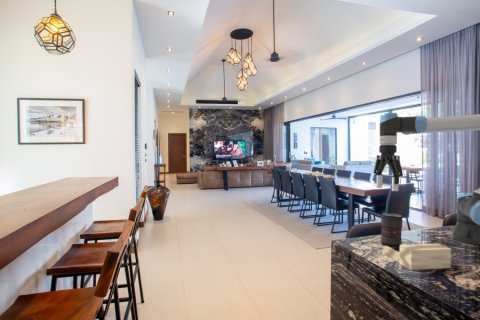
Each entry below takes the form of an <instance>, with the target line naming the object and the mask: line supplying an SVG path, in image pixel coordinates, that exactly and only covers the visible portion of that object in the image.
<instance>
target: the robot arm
mask: <svg viewBox="0 0 480 320" xmlns="http://www.w3.org/2000/svg"><path fill="white" fill-rule="evenodd" d="M469 131H480V113H479V114H465V115H453V116H452V115H451V116H440V117H437V116H436V117H426V116H425V115H424V116H423V115H422V116H421V115H417V116H416V115H415V116H398V113H397V112H384V113H381V115H380V116H379V147H378V150H379V154H378V155H376V160H375V164H374V168H373V174H374V175H376V176H375V177H376V189H382V188H383V171H384V169H385V168H386V166H387V165H388V166H389V168H390V171H391V173H392V178H391V181H392V183H391V191H392V192H399V186H400V177H403V175H404V174H403V168H402V164H401V161H400V160H401V156H400V155H396V153H397V148H398V147H397V144H398V133H401V134H402V135H406V136H407V135H412V134H418V135H419V134H430V133H431V134H433V133H449V132H453V133H454V132H469ZM456 200H457V204H456V205H457V207H456V212H457V213H456V224H455V226H454V228H453V231H452V233H451V237H452V239H454V240H456V241H458V242H463V243H464V244H465V243H466V244H471V245H478V246H480V187H479V188H478V189H476V190H474V191H473V192H459V193H458V194H457V198H456Z"/></svg>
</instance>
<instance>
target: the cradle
mask: <svg viewBox="0 0 480 320" xmlns="http://www.w3.org/2000/svg"><path fill="white" fill-rule="evenodd" d="M381 254H383V255H385V256H387V257H389V258H391V259H392V260H394V261H396V262H397V263H399V264H400V265H402V266H404V267H405V268H406V269H409V270H410V271H413V270H414V271H416V270H417V271H419V270H433V269H434V270H436V269H451V268H452V266H451V265H452V248H450V247H447V246H445V245H442V244H439V243H422V244H421V243H420V244H401V245H400V250H399V251H396V250H394V249H392V248H390V247H388V246H382V245H381Z"/></svg>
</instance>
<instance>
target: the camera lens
mask: <svg viewBox="0 0 480 320" xmlns="http://www.w3.org/2000/svg"><path fill="white" fill-rule="evenodd" d="M380 219H381V221H380V223H381V224H380V225H381V227H380V228H381V229H380V231H381V233H380V234H381V235H380V242H381V247H382V246H388V247H390V248H392V249H394V250H396V251H398V252H400V245H402V228H403V216H402V215H401V214H396V213H391V212H390V213H389V212H383V213H381V218H380Z"/></svg>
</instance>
